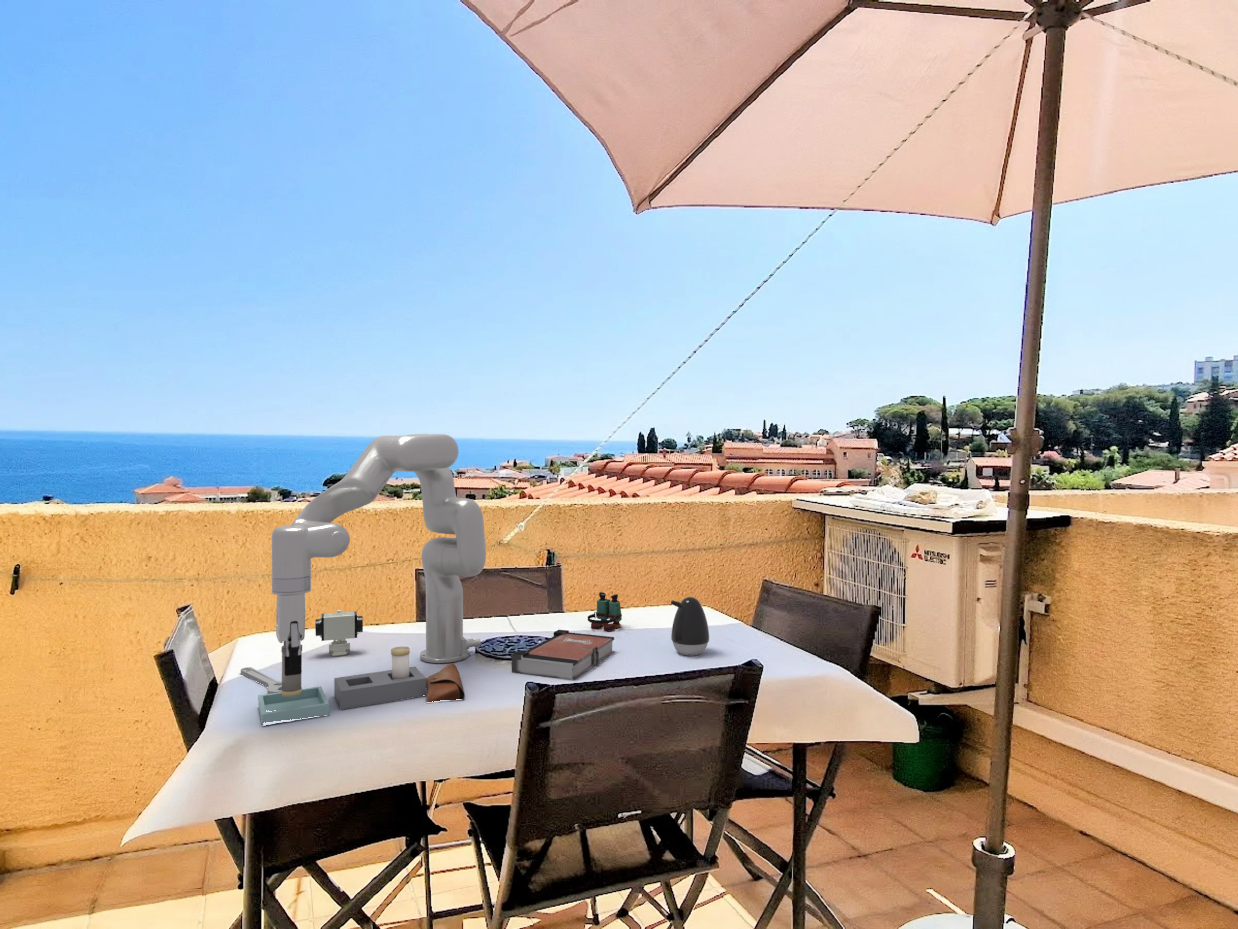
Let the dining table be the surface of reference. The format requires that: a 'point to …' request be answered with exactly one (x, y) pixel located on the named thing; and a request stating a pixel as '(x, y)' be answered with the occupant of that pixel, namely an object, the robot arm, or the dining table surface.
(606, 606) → the green twin tank jetpack
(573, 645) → the book
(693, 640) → the pump dispenser
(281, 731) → the dining table surface
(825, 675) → the dining table surface
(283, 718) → the parts tray
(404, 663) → the cylinder
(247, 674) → the adjustable wrench
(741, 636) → the dining table surface
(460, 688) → the sunglasses case
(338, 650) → the pneumatic valve
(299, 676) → the cylinder
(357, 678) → the block
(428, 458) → the robot arm
